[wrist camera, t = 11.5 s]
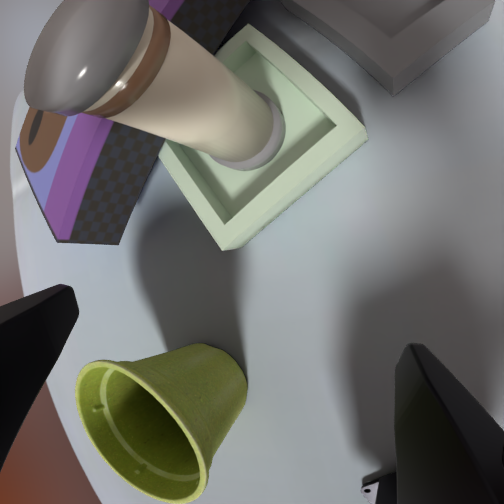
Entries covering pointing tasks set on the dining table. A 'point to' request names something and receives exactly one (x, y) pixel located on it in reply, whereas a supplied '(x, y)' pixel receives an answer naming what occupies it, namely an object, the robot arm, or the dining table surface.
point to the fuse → (149, 82)
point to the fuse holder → (394, 32)
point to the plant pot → (162, 416)
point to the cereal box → (105, 146)
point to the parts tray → (287, 159)
